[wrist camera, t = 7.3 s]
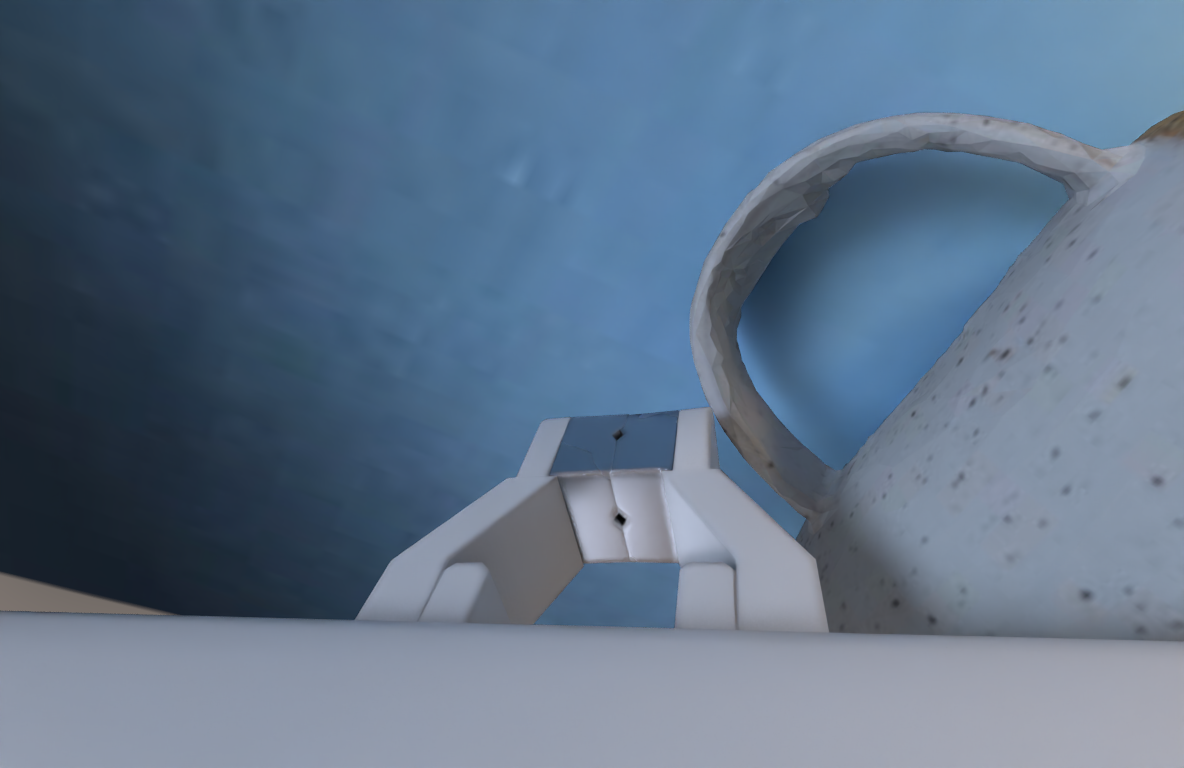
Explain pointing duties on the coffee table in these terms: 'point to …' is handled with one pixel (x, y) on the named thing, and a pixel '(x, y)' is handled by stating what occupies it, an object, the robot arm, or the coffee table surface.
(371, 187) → the coffee table surface
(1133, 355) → the ceramic mug
